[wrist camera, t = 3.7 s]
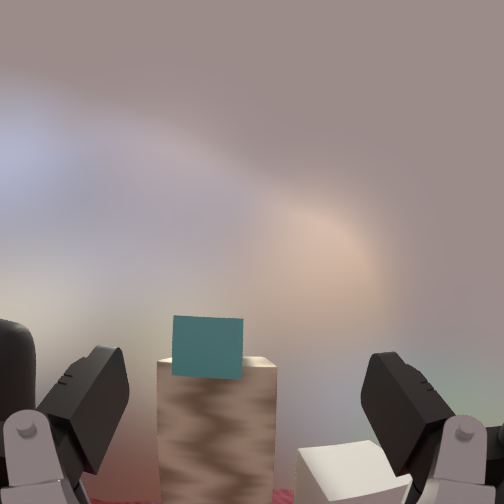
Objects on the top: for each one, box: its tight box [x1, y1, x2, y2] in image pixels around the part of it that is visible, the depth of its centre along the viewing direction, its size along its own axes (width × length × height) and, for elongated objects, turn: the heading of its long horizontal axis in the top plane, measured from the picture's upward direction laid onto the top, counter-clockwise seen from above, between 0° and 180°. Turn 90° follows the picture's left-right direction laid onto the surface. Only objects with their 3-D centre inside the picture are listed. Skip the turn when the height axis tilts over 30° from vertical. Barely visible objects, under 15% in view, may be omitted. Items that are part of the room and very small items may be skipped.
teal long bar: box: [172, 315, 243, 379], centre depth 27 cm, size 4×22×4 cm, turn 2°
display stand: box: [157, 357, 277, 504], centre depth 26 cm, size 10×14×32 cm
